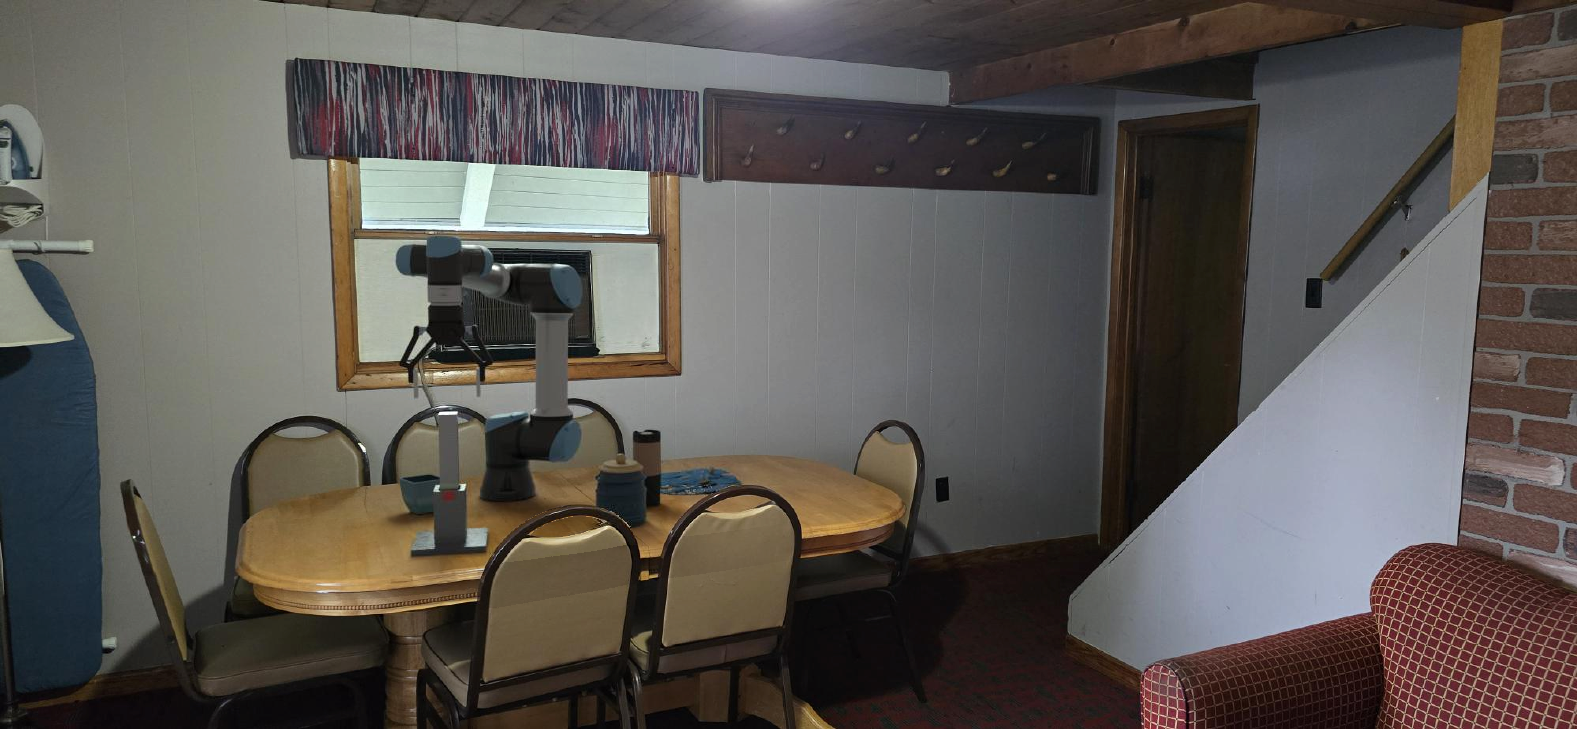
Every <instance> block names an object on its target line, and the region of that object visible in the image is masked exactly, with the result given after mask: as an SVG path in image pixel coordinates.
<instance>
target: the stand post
mask: <svg viewBox="0 0 1577 729" xmlns="http://www.w3.org/2000/svg"><path fill="white" fill-rule="evenodd" d="M458 413H459V412H458V411H439V413H438V414H437V415H438V416H437V419H438V420H437V421H438V422H437V424H438V456H439V457H438V459H439V460H438V461H439V463H438V464H439V466H438V467H439V477H440V491H441V490H460V484H461V483H460V452H459V451H460V450H459V448H460V447H459V445H460V444H459V414H458Z"/></svg>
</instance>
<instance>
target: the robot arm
mask: <svg viewBox="0 0 1577 729" xmlns="http://www.w3.org/2000/svg"><path fill="white" fill-rule="evenodd" d="M493 256H494V255H493V254H492V252H491V251H490V249H489V248H488V247H486V246H483V245H478V244H462V240H461V237H460V236H456V235H430V236H428V237H427V239H426V244H416V243H411V244H403V245H402V246H399V248H398V250H397V251H396V254H395V267H396V269H397V271H398V272H399V273H400V274H401V275H403V276H408V277H423V278H426V279H427V285H426V286H427V288H426V289H427V302H428V303H429V305H428V306H427V319H428V321H427V322H428V323H427V326H422V325H421V326H420V325H419V324H416V325H415V326H414V327H413V330H412V331H413V332H412V336H411V339H410V340H409V342H408V345H407V347H406V349H405V351H404V353H403V354H402V357H401V358H400V360H399V363H398V365H399V366H400V367H402V368H406V370H407V382H408V383H409V384H413V399H419V368H415V367H416V365H418V363H419V362H420V361H421V360H422V358H423V357H425V355H426V353H428V351H429V350H430V349H431V348H432V347H433V346H434V345H435V344H436V345H438V346H444V345H447V346H454V345H456V344H457V345H459V347H460V348H462V350H463V351H464V352H465V353H466V354H467V355H468V356H469V357H470V359H471V360H473V362H474V363H475V364H476V365H477V366H478V367H476V368H475V376H476V377H475V378H476V379H475V380H476V382H475V383H476V385H475V386H476V398H480V397H481V392H482V390H481V383H485V381H486V368H487V367H489V366H492V365H493V363H494V359H493V358H492V357H491V355H490V352H489V351H488V349H487V347H486V345H485V344H484V342H483V340H482V338H481V337H480V334H479V329H478V326H477V325H476V324H473V325H469V326H465V325H464V310H463V308H464V307H463V306H462V305H461V303H462V302H464V301H463V298H464V297H463V288H466V289H470V290H473V291H478V292H481V294H483V296H485V297H487V298H489V299H493V300H496V301H501V302H502V303H503V302H504V303H507V304H510V305H514V306H520V307H529V314H530V315H531V316H532V317H533V319H534V321H535V407H534V408H533V409H532V410H531V411H530V412H529V414H528V412H527V411H515V412H513V411H512V412H505V413H504V412H503V413H499V414H495V415H491V416H488V418H486V420H485V423H484V432H483V433H484V447H485V448H484V449H485V450H484V451H485V454H484V455H485V470H484V474H483V478H482V484H481V485H480V487H479V497H480V498H481V499H483V500H486V501H493V502H496V501H497V502H509V501H510V502H512V500H513V501H519V500H520V501H521V500H525V499H530V498H532V497H534V496H535V495H536V493H537V492H536V491H537V489H536V484H535V482H534V480H533V479H534V478H533V475H532V472H531V470H530V469H531V468H530V463H529V462H530V461H537V462H550V463H567V462H569V461H571V460H572V459H573V458H574V457H575V455H576V454H577V452H578V450H579V448H580V444H581V441H582V435H583V434H582V427H581V423H580V422H579V421H577V420H576V419H574V412H573V411H572V410H571V409H570V408H569V406H568V404H569V403H568V400H569V399H568V395H569V393H568V391H569V390H568V387H569V385H568V382H569V381H568V380H569V376H568V375H569V374H568V373H569V371H568V369H569V367H568V366H569V364H568V363H569V362H568V361H569V355H568V354H569V319H570V318H572V317H573V316H574V314H575V313H574V312H575V311H574V310H575V308H577V307H579V306H580V305H581V303H582V299H583V284H582V281H581V278H580V275H579V274H578V272H577V271H576V269H575V268H574V267H572V266H570V265H568V264H560V263H559V264H558V263H515V264H514V263H513V264H512V263H510V264H509V263H508V264H507V263H506V264H504V263H500V262H494V257H493ZM425 332H426V333H427V334H428V336H429V337H430V339H429V340H428V342H427V343H426V344H425V345H424V346H423V347H422V349H421V350H420V351H419V352H418V353H417V355H416V356H414V357H413V359H412V360H411V361H410V362H408V360H409V358H410V357H411V354H412V352H413V350H414V349H415V346H416V344H417V342H418V340H419V337H421V336H423V334H424V333H425ZM465 332H467V333H468V335H469V336H472V338H473V340H474V342H475V344H476V345H477V347H478V349H479V351H480V353H481V354H482V356H483V358H484V361H483V360H482V358H481V357H480V356H479V355H478V354H477V353H476V352H475V351H474V350H473V349H472V348H471V346H469V345H468V343H467V342H466V341H465V339H463V337H462V336H463V335H464V334H465Z"/></svg>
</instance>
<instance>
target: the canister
mask: <svg viewBox="0 0 1577 729" xmlns="http://www.w3.org/2000/svg"><path fill="white" fill-rule="evenodd" d="M597 469H598V470H599V473H597V474H596V475H595V476H594V479H595V481H596V488H595V489H594V490H595V507H596V506H597V507H599V508H604V509H606V510H608V511H612V512H614V513H615V514H616V515H619V517H620V518H621V519H623V520H624V521H625V522H627V524H628V525H629V526H631V527H630V528H633V527H638V526H641V525H643V524H646V522H647V517H648V511H647V507H646V490H647V488H646V487H645V479H646V478H647V475H646V474H645V473H643V472H642V469H643V466H642V465H641V464H639V463H638V462H637V461H634V460H633V459H627V457H626V454H624V453H618V454H617V455H616V456H615V459H611V460H606V461H605V462H604V463H602V464H601V465H599V466H598V467H597ZM596 520H597V521H598V522H600V523H598V524H601V523H603V522H602V521H601V520H599V519H596V518H595V521H596ZM598 524H597V525H598Z"/></svg>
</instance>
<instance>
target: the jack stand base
mask: <svg viewBox="0 0 1577 729" xmlns="http://www.w3.org/2000/svg"><path fill="white" fill-rule="evenodd" d="M459 484H460V490H441V491H440V485H436V486H435V488H434V491H433V504H434V512H433V530H418V531H417V533H416V536H415V539H414V542H413V544H412V546H411V549H410V554H411V555H410V557H413V558H414V557H428V556H429V557H430V556H446V555H463V554H480V553H487V547H488V546H487V545H488V538H489V527H469V528H468V511H467V510H468V507H467V506H468V505H467V483H459Z"/></svg>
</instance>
